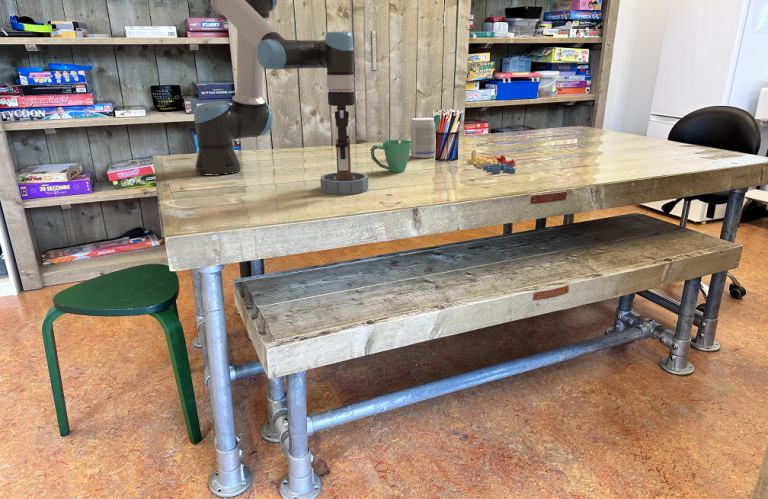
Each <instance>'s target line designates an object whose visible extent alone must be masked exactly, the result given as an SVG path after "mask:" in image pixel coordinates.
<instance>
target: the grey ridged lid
mask: <svg viewBox="0 0 768 499" xmlns="http://www.w3.org/2000/svg"><path fill="white" fill-rule="evenodd" d="M335 176H337V171H336V172H330V173H326V174H325V173H324V174H322V175H321V176H320V178H319V179H320V180H319V181H320V191H321V192H322V193H324V194H327V195H335V196H337V195H338V196H349V195H359V194H362V193H364V192H367V191H368V190H369V176H368V174H366V173H364V172H363V173H362V172H357V171H356V172H355V171H351V176H355V180H353V181H334V177H335Z"/></svg>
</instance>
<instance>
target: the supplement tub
mask: <svg viewBox="0 0 768 499" xmlns="http://www.w3.org/2000/svg"><path fill="white" fill-rule="evenodd" d="M434 118H435V117H414V118H413V117H412V118H411V119H410V141H411V142H412V145H411V150H410V155H411V157H412V158H415V159H430V158H434V157H435V156H436V122H435V123H434Z"/></svg>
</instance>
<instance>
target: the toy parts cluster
mask: <svg viewBox="0 0 768 499" xmlns="http://www.w3.org/2000/svg"><path fill="white" fill-rule="evenodd" d="M476 153H477V150H475V149H473V150H471V156H470V157H471V158H468V159H467V162H468V163H470V164H472V165H473V166H476V168H479V169H483V170H484V171H487V173H491V174H492V175H495V174H499V175H500V174H501V171H503V173H504V174H505V173H506V174H516V168H515V167H516V164H515V161H516V160H515V159H511V160H506V159H507V158H506V156H505V155H504V154H502V155H499V156H496V155H495V156H492V157H490V156H489V155H484V154H481V155H479V156H476V155H477V154H476Z"/></svg>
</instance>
